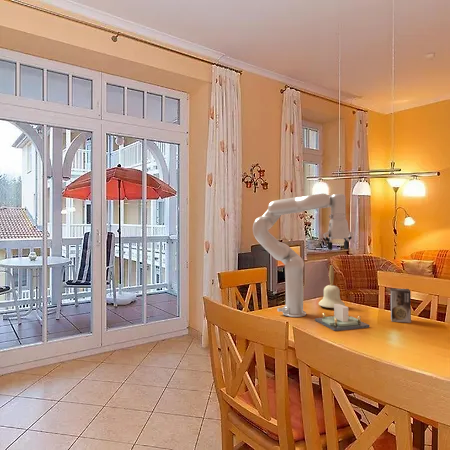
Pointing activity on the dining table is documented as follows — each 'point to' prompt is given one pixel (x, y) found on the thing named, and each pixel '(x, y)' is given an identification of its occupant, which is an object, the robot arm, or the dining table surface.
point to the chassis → (339, 328)
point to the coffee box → (400, 305)
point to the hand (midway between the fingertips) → (338, 249)
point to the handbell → (331, 293)
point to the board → (332, 321)
